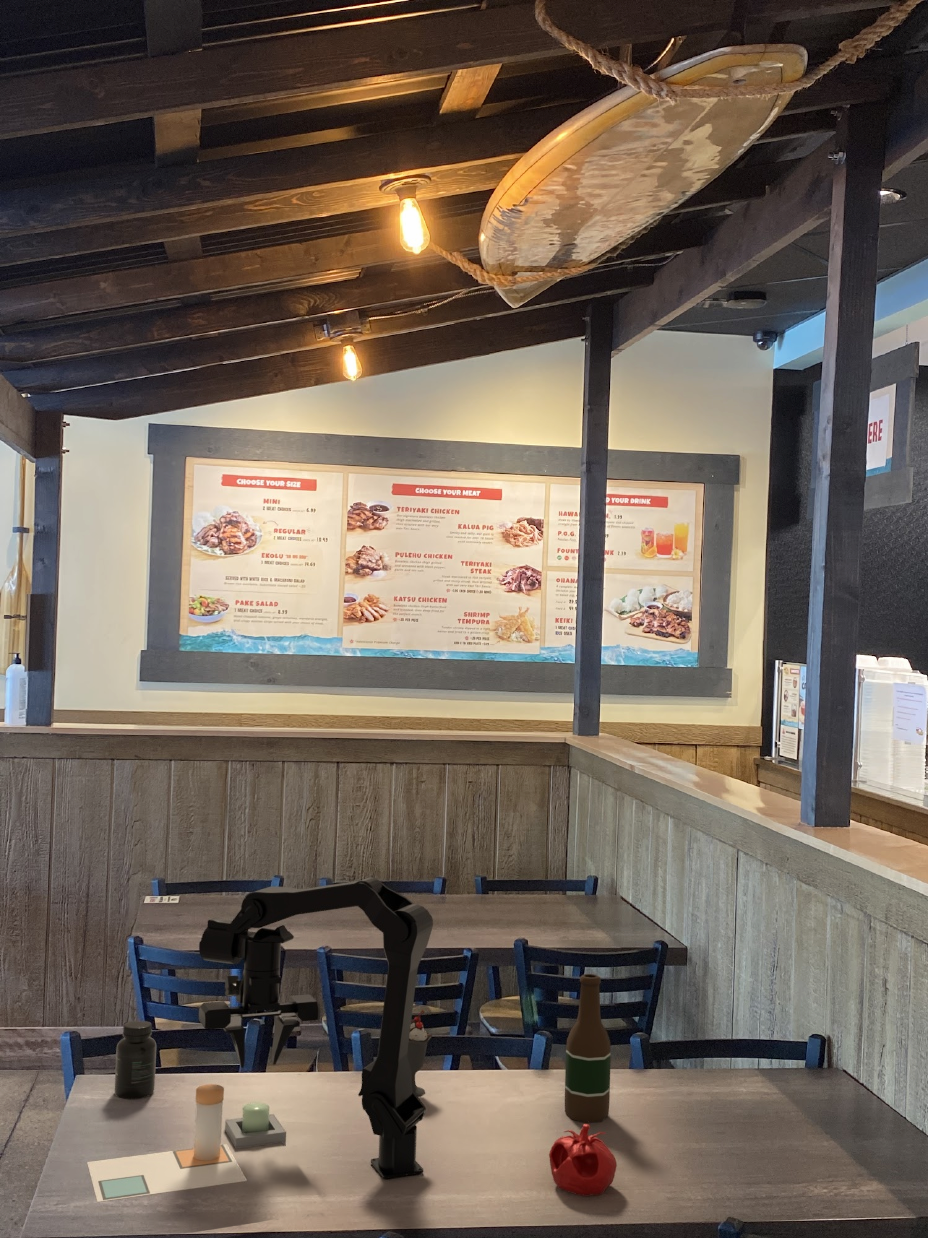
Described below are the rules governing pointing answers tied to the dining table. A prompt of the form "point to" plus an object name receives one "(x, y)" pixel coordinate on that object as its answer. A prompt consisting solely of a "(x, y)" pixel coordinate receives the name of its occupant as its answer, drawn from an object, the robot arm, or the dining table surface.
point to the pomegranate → (582, 1163)
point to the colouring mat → (161, 1173)
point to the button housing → (255, 1133)
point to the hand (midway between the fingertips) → (257, 1065)
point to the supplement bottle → (135, 1061)
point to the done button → (255, 1118)
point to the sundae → (417, 1050)
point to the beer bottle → (588, 1059)
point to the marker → (208, 1122)
